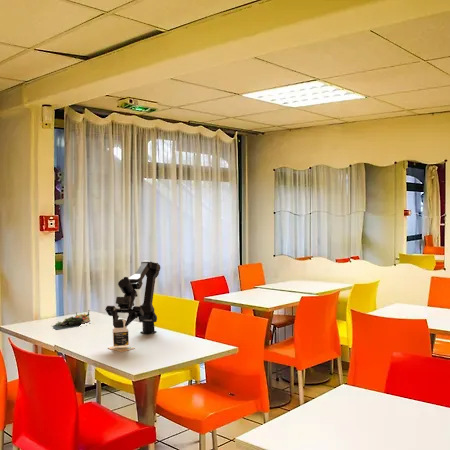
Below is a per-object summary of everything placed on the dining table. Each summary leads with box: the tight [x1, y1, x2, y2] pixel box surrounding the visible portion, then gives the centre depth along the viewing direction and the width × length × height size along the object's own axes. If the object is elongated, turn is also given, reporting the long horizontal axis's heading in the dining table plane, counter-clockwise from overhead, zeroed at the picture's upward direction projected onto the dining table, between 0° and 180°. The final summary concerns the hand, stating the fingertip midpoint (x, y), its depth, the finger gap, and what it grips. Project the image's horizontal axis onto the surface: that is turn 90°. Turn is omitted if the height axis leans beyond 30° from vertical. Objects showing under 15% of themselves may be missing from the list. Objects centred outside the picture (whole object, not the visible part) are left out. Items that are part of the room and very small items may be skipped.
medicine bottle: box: [112, 318, 130, 347], centre depth 254 cm, size 7×7×12 cm
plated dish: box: [51, 311, 91, 331], centre depth 316 cm, size 35×28×7 cm
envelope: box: [107, 345, 136, 353], centre depth 255 cm, size 11×8×1 cm
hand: (119, 325), depth 253 cm, fingers closed on medicine bottle, 6 cm apart
